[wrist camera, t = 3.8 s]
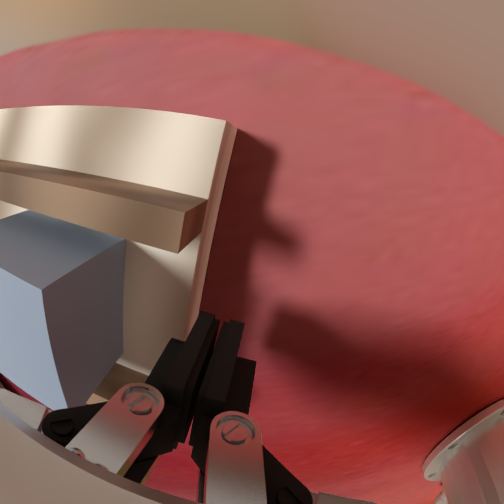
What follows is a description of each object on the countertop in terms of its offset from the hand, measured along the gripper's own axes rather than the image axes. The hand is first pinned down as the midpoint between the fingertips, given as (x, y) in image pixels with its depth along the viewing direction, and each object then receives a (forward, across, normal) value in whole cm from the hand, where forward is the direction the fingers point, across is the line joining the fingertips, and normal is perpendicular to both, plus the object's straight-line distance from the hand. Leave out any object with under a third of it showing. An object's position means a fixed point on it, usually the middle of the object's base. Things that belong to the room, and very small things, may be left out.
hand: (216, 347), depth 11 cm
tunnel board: (+4, +19, 0) cm, 19 cm away
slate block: (+1, +8, 0) cm, 8 cm away
